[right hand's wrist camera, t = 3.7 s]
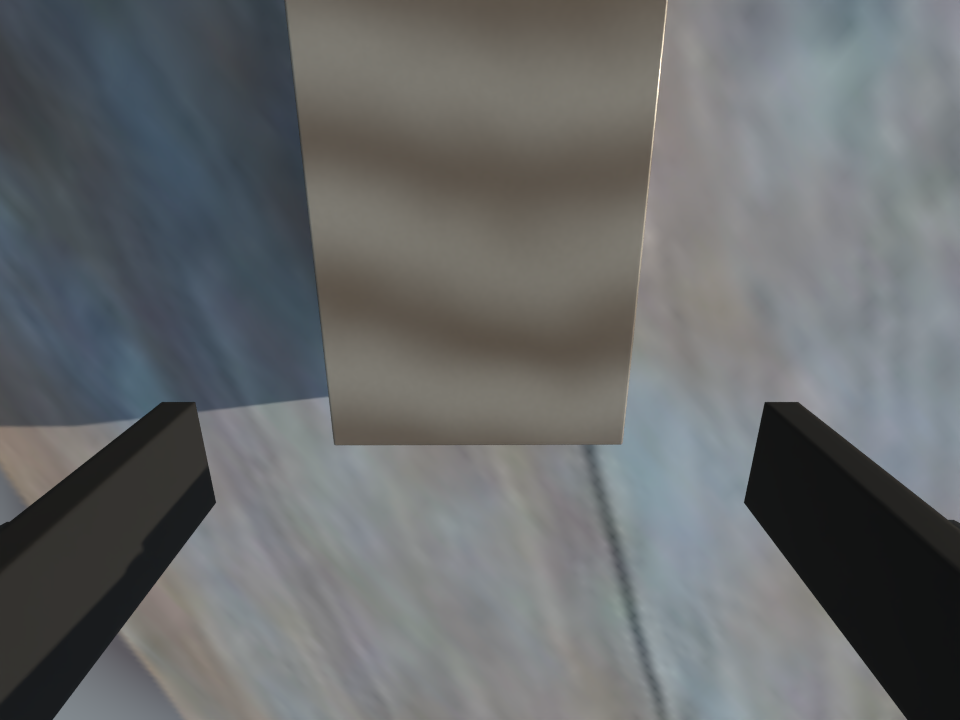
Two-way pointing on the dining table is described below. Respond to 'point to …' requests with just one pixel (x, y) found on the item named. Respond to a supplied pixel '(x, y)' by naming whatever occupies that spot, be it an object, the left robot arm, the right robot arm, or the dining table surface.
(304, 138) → the cabinet
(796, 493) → the right robot arm
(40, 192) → the dining table surface
